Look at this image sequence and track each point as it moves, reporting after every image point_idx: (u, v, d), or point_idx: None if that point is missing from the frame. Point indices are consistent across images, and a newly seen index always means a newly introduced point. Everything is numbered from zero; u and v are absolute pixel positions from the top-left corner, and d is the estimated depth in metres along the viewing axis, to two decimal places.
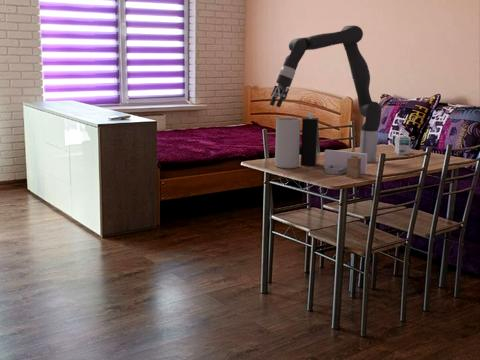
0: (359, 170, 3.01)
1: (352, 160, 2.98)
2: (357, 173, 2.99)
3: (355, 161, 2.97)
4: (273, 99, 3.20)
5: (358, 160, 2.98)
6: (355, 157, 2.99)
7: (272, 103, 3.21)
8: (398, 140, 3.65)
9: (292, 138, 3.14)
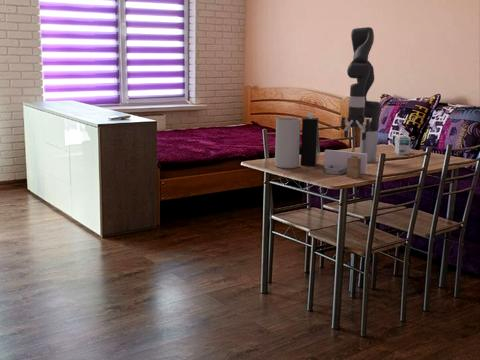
0: (359, 170, 3.01)
1: (352, 160, 2.98)
2: (357, 173, 2.99)
3: (355, 161, 2.97)
4: (347, 132, 2.99)
5: (358, 160, 2.98)
6: (355, 157, 2.99)
7: (347, 136, 3.00)
8: (398, 140, 3.65)
9: (292, 138, 3.14)
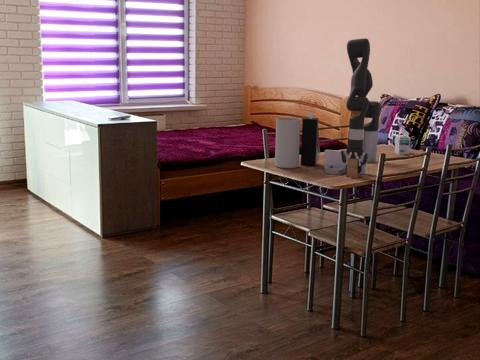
0: None
1: (352, 160, 2.98)
2: (357, 172, 2.99)
3: (355, 161, 2.97)
4: None
5: None
6: None
7: None
8: (398, 140, 3.65)
9: (292, 138, 3.14)
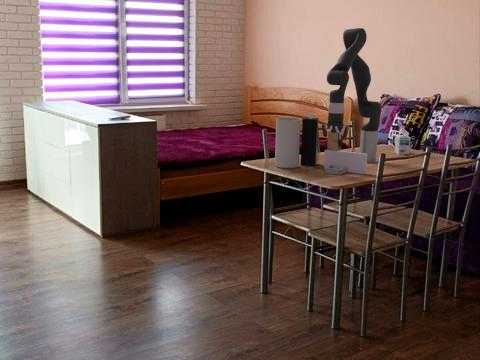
0: None
1: (332, 134, 3.01)
2: None
3: (335, 134, 3.01)
4: None
5: None
6: None
7: None
8: (398, 140, 3.65)
9: (292, 138, 3.14)
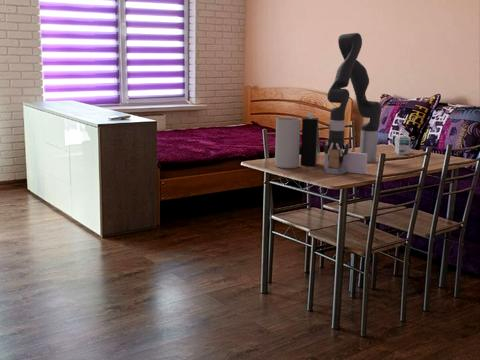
0: None
1: (333, 151, 3.05)
2: (338, 163, 3.06)
3: (336, 152, 3.04)
4: None
5: None
6: None
7: None
8: (398, 140, 3.65)
9: (292, 138, 3.14)
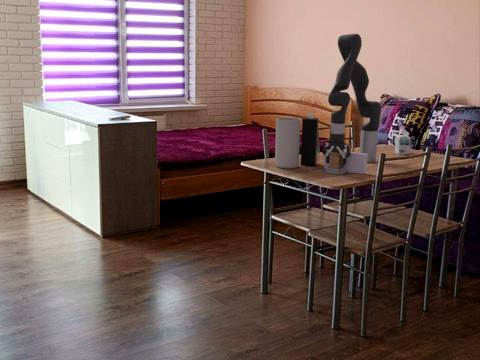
0: (341, 167, 3.10)
1: (334, 156, 3.07)
2: None
3: (337, 157, 3.06)
4: (328, 157, 3.11)
5: (340, 156, 3.07)
6: (337, 154, 3.08)
7: (328, 161, 3.11)
8: (398, 140, 3.65)
9: (292, 138, 3.14)
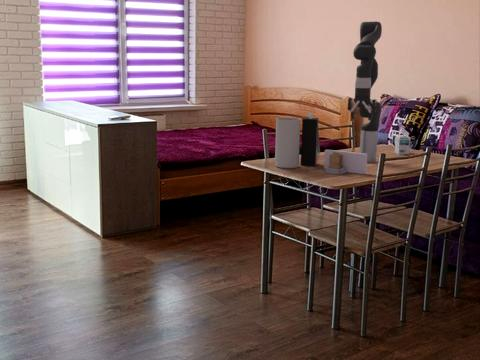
0: (341, 167, 3.10)
1: (334, 156, 3.07)
2: None
3: (337, 157, 3.06)
4: (353, 112, 3.07)
5: (340, 156, 3.07)
6: (337, 154, 3.08)
7: (354, 117, 3.08)
8: (398, 140, 3.65)
9: (292, 138, 3.14)
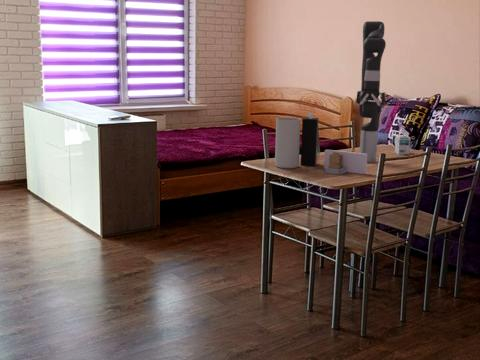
0: (341, 167, 3.10)
1: (334, 156, 3.07)
2: None
3: (337, 157, 3.06)
4: (362, 106, 3.07)
5: (340, 156, 3.07)
6: (337, 154, 3.08)
7: (362, 110, 3.07)
8: (398, 140, 3.65)
9: (292, 138, 3.14)
